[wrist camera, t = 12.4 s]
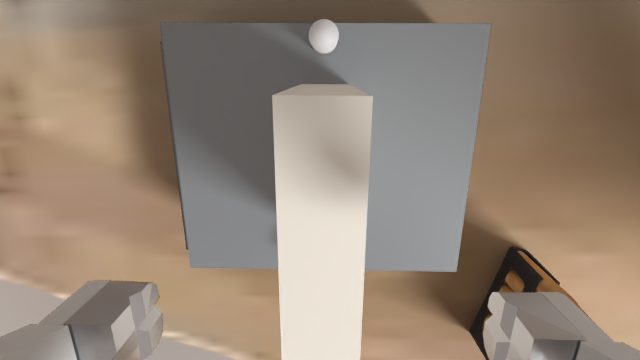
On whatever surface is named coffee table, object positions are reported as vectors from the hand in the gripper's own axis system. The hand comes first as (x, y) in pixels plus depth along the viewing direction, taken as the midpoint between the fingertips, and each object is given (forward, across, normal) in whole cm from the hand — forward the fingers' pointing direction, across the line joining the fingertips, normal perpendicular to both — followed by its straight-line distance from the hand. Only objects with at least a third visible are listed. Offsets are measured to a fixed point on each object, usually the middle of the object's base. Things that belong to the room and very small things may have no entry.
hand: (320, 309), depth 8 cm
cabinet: (+23, 0, 0) cm, 23 cm away
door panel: (+15, 0, 0) cm, 15 cm away
